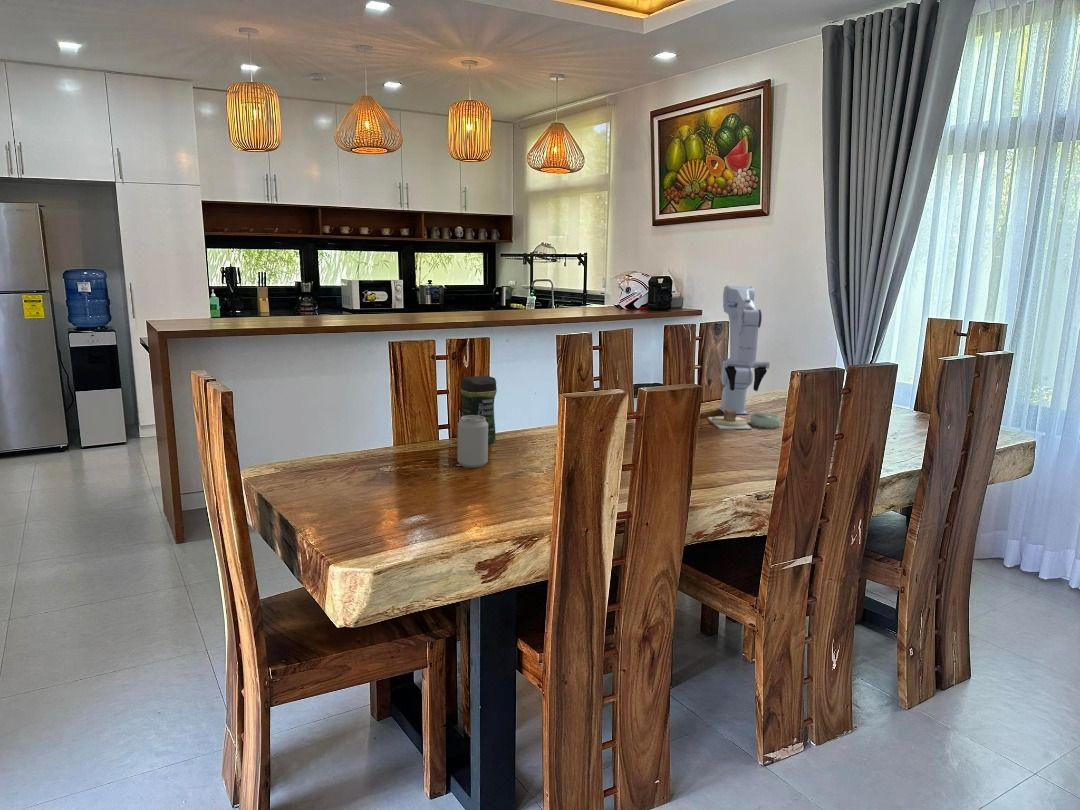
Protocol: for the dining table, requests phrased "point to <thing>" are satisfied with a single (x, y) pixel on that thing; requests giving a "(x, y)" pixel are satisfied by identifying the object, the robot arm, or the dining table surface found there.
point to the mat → (730, 426)
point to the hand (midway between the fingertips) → (743, 390)
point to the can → (472, 441)
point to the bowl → (765, 419)
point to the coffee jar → (480, 400)
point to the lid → (729, 419)
